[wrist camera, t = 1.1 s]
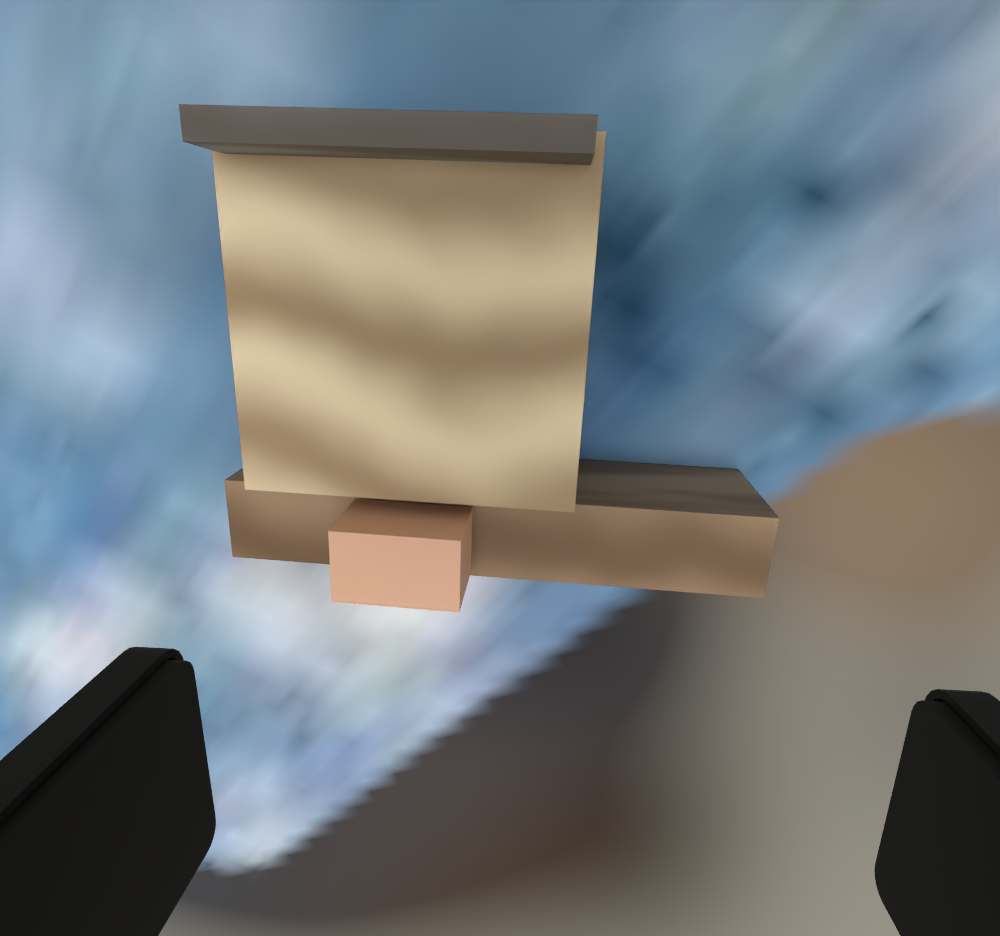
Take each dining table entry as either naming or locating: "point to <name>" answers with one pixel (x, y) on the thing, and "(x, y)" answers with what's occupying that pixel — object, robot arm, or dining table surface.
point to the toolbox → (567, 530)
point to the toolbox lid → (407, 298)
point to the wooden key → (401, 554)
